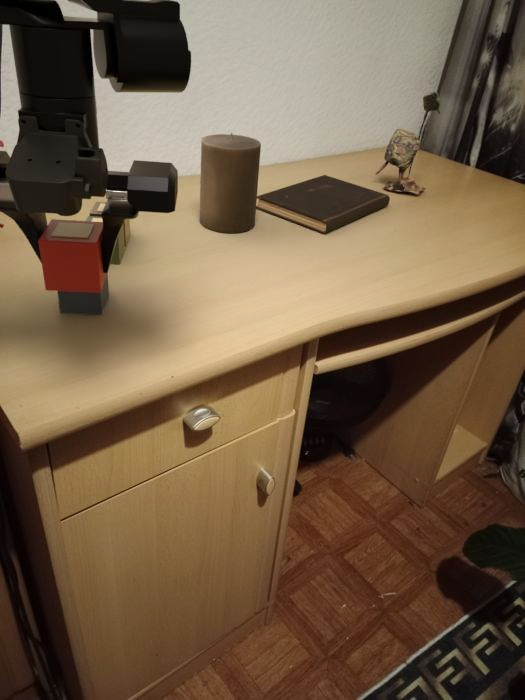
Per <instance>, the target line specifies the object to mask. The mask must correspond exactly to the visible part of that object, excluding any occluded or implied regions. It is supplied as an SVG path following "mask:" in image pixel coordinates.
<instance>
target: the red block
mask: <svg viewBox="0 0 525 700" xmlns="http://www.w3.org/2000/svg"><path fill="white" fill-rule="evenodd" d="M47 225H48V226H47V228H46V229H45V231H44V232H43V234H42V235H41V237H40V238H39V240H38V242H39V249H40V255H41V262H42V263H41V262H40V263H41V269H42V274H43V280H44V281H43V282H44V287H45V291H49V292H50V291H52V292H57V291H73V292H97V293H101V291H102V288H103V285H104V282H105V279H106V276H107V274H108V273H104V272H103V264H102V240H103V222H91V221H86V220H74V219H73V220H71V219H54V218H52V219H51V220H50V221H49V223H47Z"/></svg>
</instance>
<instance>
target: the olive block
mask: <svg viewBox="0 0 525 700" xmlns="http://www.w3.org/2000/svg"><path fill="white" fill-rule="evenodd" d="M85 221H91V222H103V220H102V217H95V216H90V215H88V216H87V217H86V219H85ZM125 251H126V247H125V242H124V224H123V225H122V227H121V229H120V231H119V234H118V238H117V241H116V245H115V249H114V252H113V256H112V259H111V263H110V265H121V263H122V260H123V257H124V253H125Z"/></svg>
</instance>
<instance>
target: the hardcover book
mask: <svg viewBox="0 0 525 700" xmlns="http://www.w3.org/2000/svg"><path fill="white" fill-rule="evenodd" d="M390 201H391V197H390V196H389V194H386V193H383V192H380V191H377V190H374V189H370V188H367V187H365V186H361V185H358V184H355V183H352V182H349V181H345V180H342V179H339V178H336V177H334V176H333V177H332V176H329V175H326V174H323V175H320V176H316V177H314V178H309V179H307V180H304V181H301V182H298V183H294V184H291V185H288V186H285V187H282V188H279V189H275V190H272V191H269V192H266V193H262V194H259V195H257V202H256V204H257V205H256V210H259V211H261V212H264V213H267V214H268V215H272V216H274V217H277V218H280V219H283V220H286V221H288V222H291V223H293V224H295V225H298V226H301V227H304V228H306V229H308V230H312V231H314V232H316V233H319V234H322V235H325V234H327V233H329V232H331V231H333V230H337V229H338V228H341V227H343V226H345V225H346V224H347V225H348V224H349V223H352V222H353V221H356V220H358V219H361V218H362V217H365V216H367V215H369V214H371V213H373V212H375V211H378V210H381V209H382V208H385V207H387V206H389V204H390Z"/></svg>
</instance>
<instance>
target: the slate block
mask: <svg viewBox="0 0 525 700" xmlns="http://www.w3.org/2000/svg"><path fill="white" fill-rule="evenodd" d="M109 288H110V287H109V275H108V273H107V276H106V279H105V282H104V285H103V288H102V291H101V293H97V292H73V291H56V292H57V299H58V300H57V301H58V306H59V313H60V314H74V315H75V314H76V315H99V316H100V315H101V316H103V314H104V311H105V308H106V305H107V302H108V300H109V296H110V289H109Z"/></svg>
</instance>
